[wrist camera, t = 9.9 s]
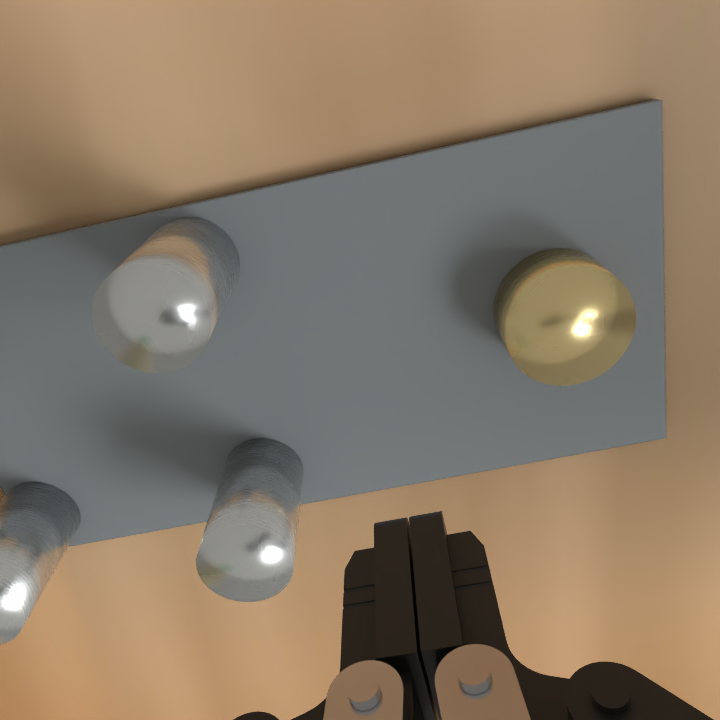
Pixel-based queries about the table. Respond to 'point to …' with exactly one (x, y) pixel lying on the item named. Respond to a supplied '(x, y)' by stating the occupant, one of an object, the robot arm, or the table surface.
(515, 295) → the brushed gold puck
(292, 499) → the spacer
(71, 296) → the mat
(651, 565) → the table surface
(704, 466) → the table surface
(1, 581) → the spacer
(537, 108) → the table surface
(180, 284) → the cylinder
